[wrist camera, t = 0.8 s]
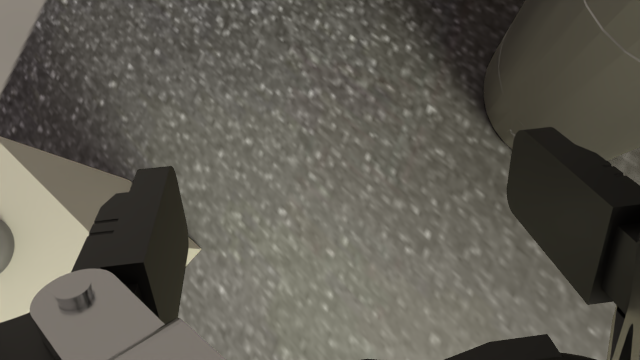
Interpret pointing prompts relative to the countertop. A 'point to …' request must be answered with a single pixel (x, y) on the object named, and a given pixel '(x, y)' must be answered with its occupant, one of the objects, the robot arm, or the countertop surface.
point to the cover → (46, 219)
